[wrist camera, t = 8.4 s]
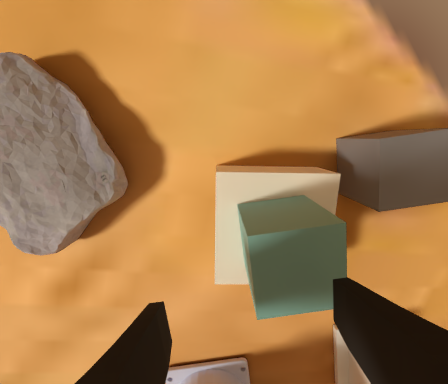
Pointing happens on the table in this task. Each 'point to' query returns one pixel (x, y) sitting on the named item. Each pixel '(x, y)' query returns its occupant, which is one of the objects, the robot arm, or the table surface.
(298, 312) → the teal block
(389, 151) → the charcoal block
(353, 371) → the placard
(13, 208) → the stone block
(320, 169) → the cream base block
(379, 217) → the table surface
